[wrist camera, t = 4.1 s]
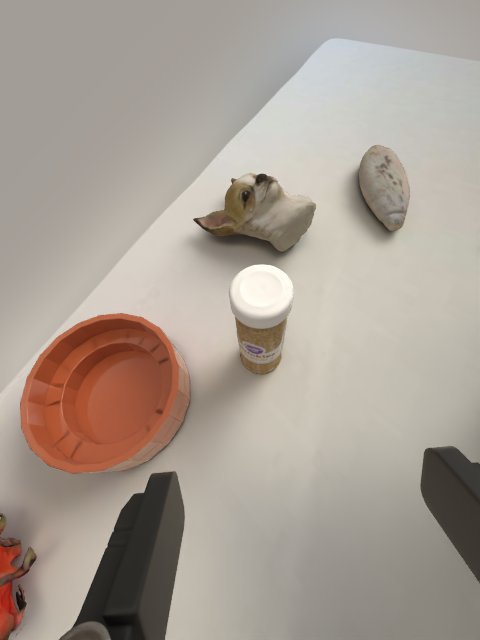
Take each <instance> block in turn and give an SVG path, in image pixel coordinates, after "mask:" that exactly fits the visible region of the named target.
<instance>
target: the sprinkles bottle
mask: <svg viewBox="0 0 480 640" xmlns="http://www.w3.org/2000/svg"><path fill="white" fill-rule="evenodd" d="M293 294H294V293H293V286H292V283H291V281H290V279H289V277H288V276H287V275H286V274H285V273H284V272H283V271H281V270H280V269H278V268H276V267H274V266H270V265H262V264H261V265H253V266H250V267H247V268H245V269H243V270H242V271H240V272H239V273H238V274H237V275H236V276H235V277H234V279H233V280H232V282H231V285H230V289H229V297H230V304H231V309H232V312H233V314H234V315H235V319H236V326H237V337H238V342H239V347H240V350H241V354H240V356H241V360H242V363H243V364H244V365H245V367H246V368H247V369H249V370H250V371H252V372H254V373H260V374H264V373H268V372H271V371H272V370H274V369H275V368H276V367H277V366H278V364H279V363H280V360H281V351H282V348H283V342H284V336H285V331H286V325H287V316H288V315H289V313H290V310H291V307H292V301H293Z"/></svg>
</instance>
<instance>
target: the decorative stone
mask: <svg viewBox="0 0 480 640" xmlns="http://www.w3.org/2000/svg"><path fill="white" fill-rule="evenodd" d="M359 183H360V188H361V191H362V194H363V196H364V198H365V200H366V202H367V204H368V205H369V207H370V208H371V210H372V211H373V212H374V214H375V215H376V216H377V218H378V219H379V220H380V221H381V222H383V224H384V225H385V226H386V227H387V228H388V229H389V230H390V231H394V230H398V229H400V228H401V227H402V226H403V223H404V220H405V216H406V212H407V208H408V203H409V198H410V189H409V183H408V178H407V175H406V173H405V170H404V168H403V166H402V164H401V162H400V160H399V158H398V157H397V155H396V154H395V153H394V152H393V151H392V150H391V149H389V148H386V147H384V146H381V145H375V146H372V147H371V148H370V149H369V150H368V151H367V152H366V153H365V155H364V156H363V158H362V161H361V164H360V169H359Z"/></svg>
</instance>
